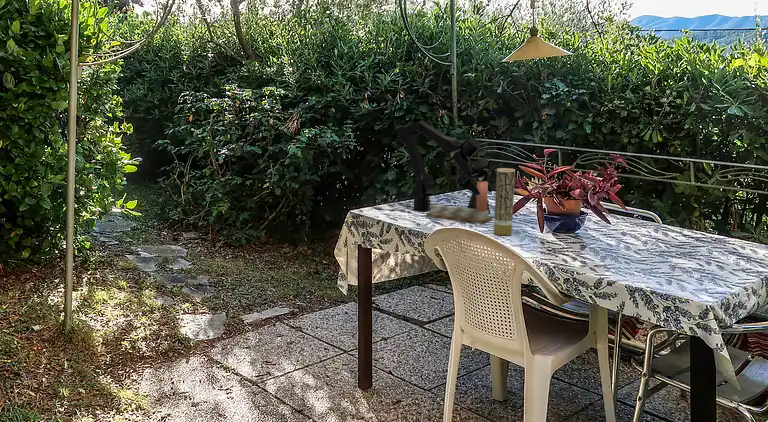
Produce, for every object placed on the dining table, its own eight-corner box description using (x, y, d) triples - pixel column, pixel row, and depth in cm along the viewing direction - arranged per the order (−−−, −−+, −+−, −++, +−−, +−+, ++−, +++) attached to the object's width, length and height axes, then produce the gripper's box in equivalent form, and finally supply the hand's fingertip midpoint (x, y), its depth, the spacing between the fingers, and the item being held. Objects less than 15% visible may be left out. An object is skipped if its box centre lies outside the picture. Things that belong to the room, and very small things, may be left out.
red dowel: (476, 211, 271) (477, 182, 268) (476, 209, 275) (477, 180, 273) (487, 211, 270) (488, 183, 268) (486, 209, 275) (487, 181, 272)
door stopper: (490, 213, 289) (491, 186, 286) (481, 215, 285) (482, 188, 283) (475, 210, 296) (476, 184, 293) (466, 212, 292) (467, 185, 289)
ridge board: (426, 217, 280) (426, 206, 279) (435, 212, 289) (435, 202, 288) (483, 224, 268) (484, 213, 267) (492, 219, 277) (492, 209, 276)
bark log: (511, 236, 248) (515, 171, 243) (493, 235, 249) (496, 170, 244) (511, 232, 254) (515, 168, 249) (494, 231, 256) (497, 167, 251)
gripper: (463, 153, 264) (485, 183, 259) (488, 149, 277) (509, 178, 272) (446, 170, 270) (467, 200, 265) (472, 166, 284) (492, 194, 279)
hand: (485, 193), depth 270 cm, fingers open, 9 cm apart
